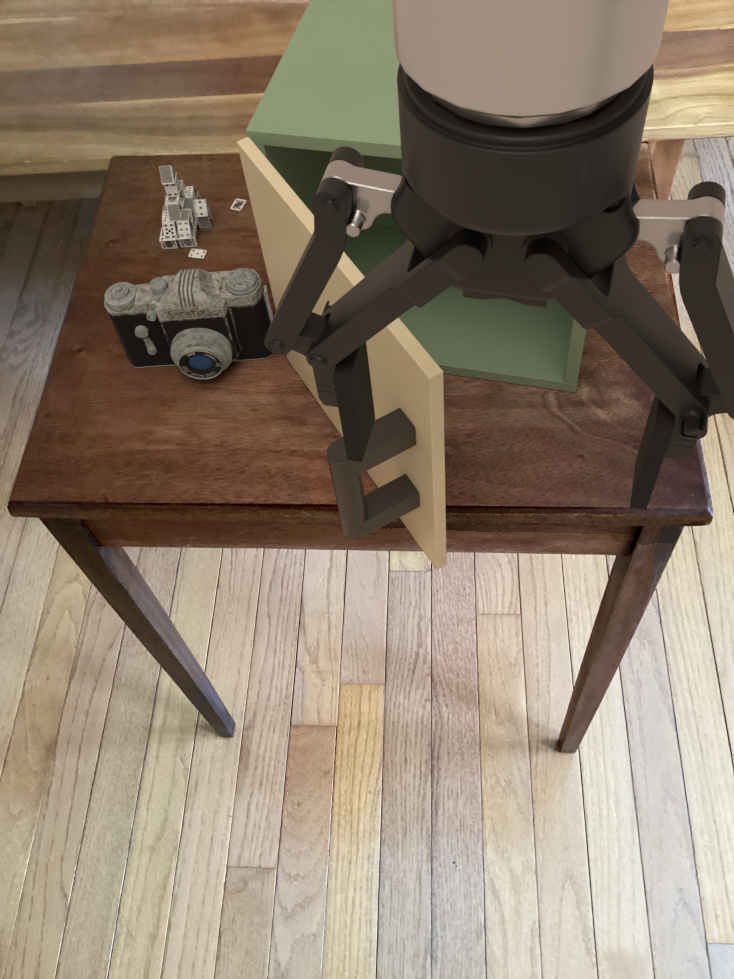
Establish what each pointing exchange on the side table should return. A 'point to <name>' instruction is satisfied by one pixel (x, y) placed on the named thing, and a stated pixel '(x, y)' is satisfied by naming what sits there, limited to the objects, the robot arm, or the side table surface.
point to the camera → (192, 320)
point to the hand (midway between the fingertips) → (496, 461)
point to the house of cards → (184, 213)
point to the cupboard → (376, 136)
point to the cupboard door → (394, 379)
